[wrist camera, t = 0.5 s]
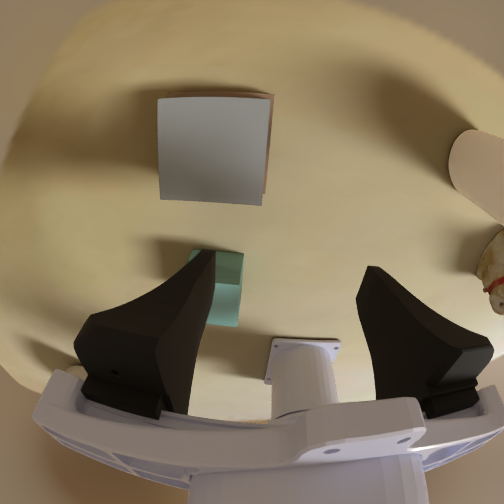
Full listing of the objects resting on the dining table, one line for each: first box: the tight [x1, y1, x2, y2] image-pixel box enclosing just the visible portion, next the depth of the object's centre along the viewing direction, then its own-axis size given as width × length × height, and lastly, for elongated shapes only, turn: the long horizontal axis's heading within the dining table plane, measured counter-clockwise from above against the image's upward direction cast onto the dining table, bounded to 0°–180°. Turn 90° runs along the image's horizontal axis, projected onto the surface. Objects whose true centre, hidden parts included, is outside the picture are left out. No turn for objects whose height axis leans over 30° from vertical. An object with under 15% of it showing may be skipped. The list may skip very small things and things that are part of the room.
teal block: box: [187, 249, 244, 327], centre depth 23 cm, size 4×4×4 cm
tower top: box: [157, 97, 270, 206], centre depth 16 cm, size 6×6×2 cm
